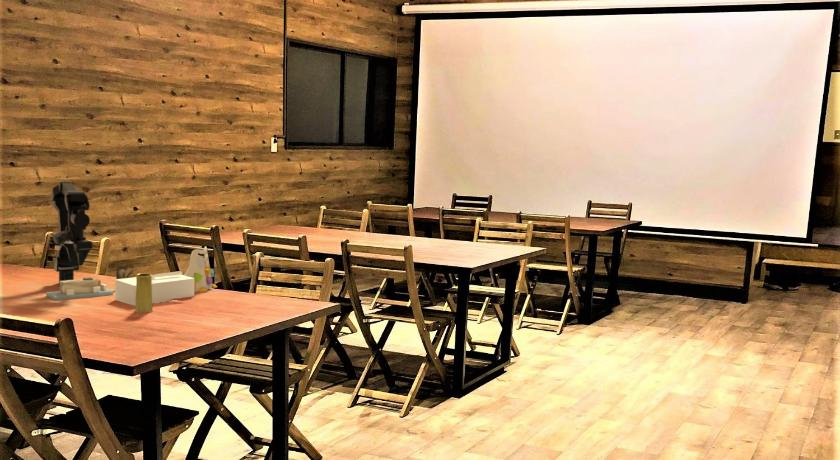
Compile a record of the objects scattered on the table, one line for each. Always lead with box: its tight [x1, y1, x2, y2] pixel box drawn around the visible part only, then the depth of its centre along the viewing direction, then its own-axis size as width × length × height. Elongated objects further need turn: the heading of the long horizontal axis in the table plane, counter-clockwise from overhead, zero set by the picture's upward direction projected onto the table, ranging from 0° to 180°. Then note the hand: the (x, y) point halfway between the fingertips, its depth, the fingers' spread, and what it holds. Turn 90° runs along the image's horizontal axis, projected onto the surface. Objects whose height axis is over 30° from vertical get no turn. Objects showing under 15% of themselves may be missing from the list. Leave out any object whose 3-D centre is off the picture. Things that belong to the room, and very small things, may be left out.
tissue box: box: [114, 270, 195, 307], centre depth 333 cm, size 14×25×11 cm, turn 137°
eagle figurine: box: [115, 266, 135, 280], centre depth 351 cm, size 8×7×9 cm
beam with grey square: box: [59, 277, 102, 295], centre depth 336 cm, size 4×14×5 cm, turn 132°
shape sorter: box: [183, 246, 218, 293], centre depth 354 cm, size 20×10×18 cm, turn 169°
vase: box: [134, 272, 153, 314], centre depth 310 cm, size 6×6×14 cm
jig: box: [45, 282, 114, 301], centre depth 336 cm, size 10×22×4 cm, turn 132°
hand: (76, 263), depth 341 cm, fingers open, 9 cm apart
